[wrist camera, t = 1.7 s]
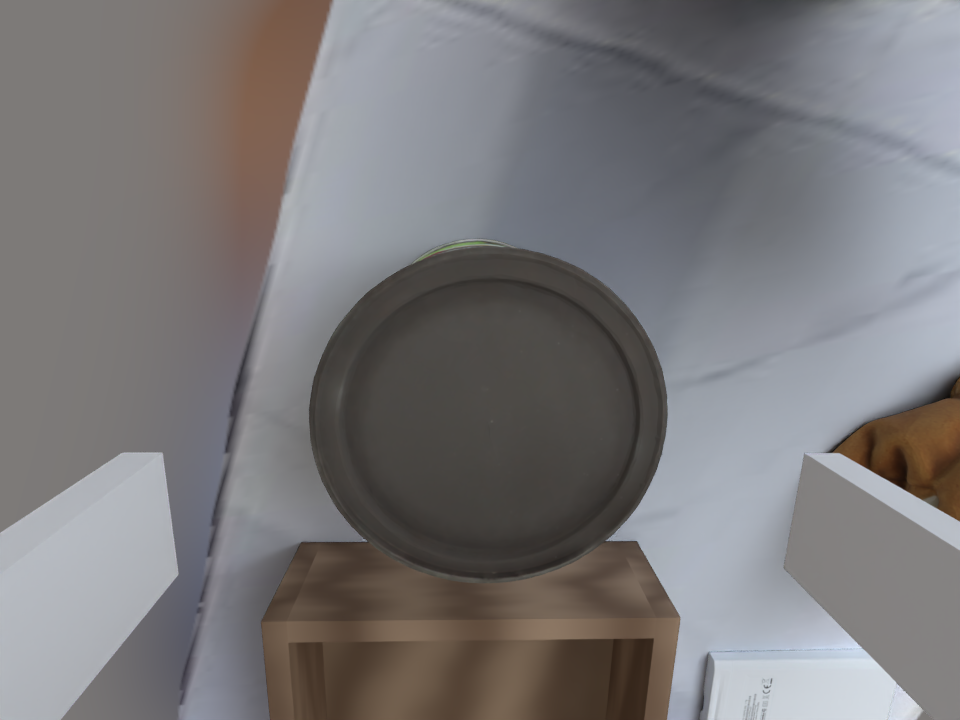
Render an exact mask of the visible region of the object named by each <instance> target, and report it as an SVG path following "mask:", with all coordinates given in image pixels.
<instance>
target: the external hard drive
mask: <svg viewBox="0 0 960 720" xmlns="http://www.w3.org/2000/svg"><path fill="white" fill-rule="evenodd" d="M896 686H897V683H896V682H895V681H894V680H893V679H892V678H891V677H890V676H889V675H888V674H887V673H886V672H885V670H884V669H883V668H882V667H881V666H880V665H879V664H878V663H877V662H876V661H875V660H874V659H873V658H872V657H871V656H870V655H869V654H868V653H867V652H866V651H865V650H864V649H822V650H771V651H717V652H709V655H708V663H707V669H706V676H705V683H704V690H703V693H704V696H705V699H704V705H703V709H702V710H701V711H700V717H699V720H888V716H889V713H890V708H891V705H892V702H893V698H894V693H895V690H896Z"/></svg>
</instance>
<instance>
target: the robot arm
mask: <svg viewBox="0 0 960 720" xmlns="http://www.w3.org/2000/svg"><path fill="white" fill-rule="evenodd" d="M784 569H785V570H786V571H787V572H788V573H789V574H790V575H791V576H792V577H793V578H794V579H795V580H796V581H797V582H798V583H799V584H800V585H801V586H802V587H803V588H804V589H805V590H806V591H807V592H808V593H809V594H810V595H811V596H812V597H813V598H814V599H815V600H816V601H817V602H818V603H819V604H820V605H821V607H822V608H823V609H824V610H825V611H826V612H827V613H828V614H829V615H830V616H831V617H832V618H833V619H834V620H835V621H836V622H837V623H838V624H839V625H840V626H841V627H842V628H843V629H844V630H845V631H846V632H847V633H848V634H849V635H850V636H851V637H852V638H853V639H854V640H855V641H856V642H857V643H858V644H859V645H860V646H861V647H862V648H863V649H864V650H865V651H866V652H867V653H868V654H869V655H870V656H871V657H872V658H873V659H874V660H875V661H876V662H877V663H878V664H879V665H880V666H881V667H882V668H883V669H884V670H885V672H886V673H887V674H888V675H889V676H890V677H891V678H892V679H893V680H894V681H895V682H896V683H897V684H898V685H899V686H900V687H901V688H902V689H903V690H904V691H905V692H906V693H907V694H908V695H909V696H910V697H911V698H912V699H913V700H914V701H915V702H916V703H917V704H918V705H919V706H920V707H921V708H922V709H923V710H924V711H925V712H926V713H927V714H928V715H929V716H930V717H931V718H932V719H933V720H960V521H958V520H956V519H954V518H952V517H951V516H949V515H947V514H945V513H944V512H942V511H940V510H938V509H937V508H935V507H933V506H931V505H930V504H928V503H926V502H924V501H923V500H921V499H919V498H917V497H916V496H914V495H912V494H910V493H909V492H907V491H905V490H903V489H902V488H900V487H898V486H896V485H895V484H893V483H891V482H889V481H888V480H886V479H884V478H882V477H880V476H879V475H877V474H875V473H873V472H872V471H870V470H868V469H866V468H865V467H863V466H861V465H859V464H858V463H856V462H854V461H852V460H851V459H849V458H847V457H845V456H844V455H842V454H840V453H804V458H803V464H802V469H801V475H800V480H799V486H798V491H797V497H796V502H795V508H794V513H793V519H792V524H791V530H790V535H789V541H788V546H787V552H786V557H785V562H784ZM178 575H179V573H178V565H177V559H176V551H175V543H174V535H173V528H172V520H171V513H170V505H169V497H168V490H167V482H166V474H165V467H164V460H163V453H161V452H158V453H157V452H156V453H155V452H153V453H151V452H148V453H146V452H143V453H142V452H139V453H138V452H136V453H135V452H134V453H133V452H125V453H124V452H123V453H121V454H119V455H118V456H116V457H115V458H114V459H112V460H110V461H109V462H107V463H106V464H104V465H103V466H101V467H100V468H98V469H97V470H95V471H94V472H92V473H91V474H89V475H87V476H86V477H84V478H83V479H81V480H80V481H78V482H77V483H75V484H74V485H72V486H71V487H69V488H68V489H66V490H65V491H63V492H62V493H60V494H59V495H57V496H56V497H54V498H53V499H51V500H49V501H48V502H46V503H45V504H43V505H42V506H40V507H39V508H37V509H36V510H34V511H33V512H31V513H30V514H28V515H27V516H25V517H24V518H22V519H20V520H19V521H18V522H16V523H15V524H13V525H11V526H10V527H8V528H7V529H5V530H4V531H2V532H1V533H0V720H61V719H62V717H63V716H64V715H65V714H66V713H67V711H68V710H69V709H70V708H71V706H72V705H73V704H74V703H75V702H76V700H77V699H78V698H79V697H80V695H81V694H82V693H83V692H84V690H85V689H86V688H87V687H88V685H89V684H90V683H91V682H92V681H93V679H94V678H95V677H96V676H97V674H98V673H99V672H100V671H101V669H102V668H103V667H104V666H105V664H106V663H107V662H108V661H109V660H110V658H111V657H112V656H113V655H114V653H115V652H116V651H117V650H118V649H119V647H120V646H121V645H122V643H123V642H124V641H125V640H126V639H127V637H128V636H129V635H130V634H131V633H132V631H133V630H134V629H135V628H136V626H137V625H138V624H139V623H140V621H141V620H142V619H143V618H144V617H145V615H146V614H147V613H148V612H149V610H150V609H151V608H152V606H153V605H154V604H155V603H156V602H157V600H158V599H159V598H160V597H161V596H162V594H163V593H164V592H165V591H166V589H167V588H168V587H169V586H170V584H171V583H172V582H173V581H174V579H175V578H176V577H177V576H178Z"/></svg>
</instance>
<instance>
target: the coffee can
mask: <svg viewBox="0 0 960 720" xmlns="http://www.w3.org/2000/svg"><path fill="white" fill-rule="evenodd" d="M309 423H310V436H311V444H312V450H313V454H314V458H315V462H316V466H317V468H318V471H319V474H320V476H321V479H322V482H323V484H324V486H325V488H326V489H327V491H328V493H329V495H330V497H331V499H332V500H333V502H334V504H335V505H336V507H337V509H338V510H339V511H340V513H341V514H342V515H343V516H344V518H345V519H346V520H347V521H348V523H349V524H350V525H351V526H352V527H353V528H354V529H355V530H356V531H357V532H358V533H359V534H360V535H361V536H362V537H363V538H364V539H366V540H367V541H368V542H369V543H370V544H372V545H373V546H374V547H375V548H377V549H378V550H379V551H381V552H382V553H384V554H385V555H387V556H388V557H390V558H392V559H394V560H395V561H397V562H399V563H401V564H403V565H405V566H407V567H409V568H411V569H414V570H416V571H419V572H422V573H426V574H428V575H431V576H434V577H438V578H443V579H446V580H451V581H458V582H467V583H504V582H512V581H519V580H524V579H529V578H532V577H535V576H540V575H543V574H546V573H548V572H552V571H555V570H557V569H560V568H562V567H564V566H566V565H569V564H571V563H573V562H575V561H577V560H579V559H580V558H582V557H583V556H585V555H587V554H589V553H590V552H591V551H593V550H594V549H596V548H597V547H598V546H599V545H601V544H602V543H603V542H605V541H606V540H607V539H608V538H609V537H611V536H612V535H613V534H614V533H615V532H616V531H617V530H618V529H619V528H620V527H621V525H622V524H623V523H624V522H625V521H626V520H627V519H628V518H629V517H630V515H631V514H632V513H633V511H634V510H635V509H636V508H637V506H638V505H639V503H640V501H641V500H642V498H643V496H644V495H645V493H646V491H647V489H648V487H649V485H650V483H651V481H652V479H653V477H654V474H655V472H656V470H657V467H658V463H659V460H660V457H661V455H662V450H663V444H664V440H665V435H666V427H667V394H666V387H665V382H664V377H663V372H662V368H661V365H660V363H659V360H658V357H657V354H656V351H655V349H654V347H653V345H652V343H651V341H650V339H649V337H648V336H647V334H646V332H645V330H644V329H643V327H642V326H641V324H640V323H639V321H638V320H637V318H636V317H635V316H634V314H633V313H632V312H631V311H630V309H629V308H628V307H627V306H626V305H625V303H624V302H623V301H622V300H621V299H620V298H619V297H618V296H617V295H616V294H615V293H614V292H613V291H612V290H611V289H610V288H608V287H607V286H606V285H604V284H603V283H602V282H600V281H599V280H597V279H596V278H595V277H593V276H591V275H590V274H588V273H587V272H585V271H584V270H582V269H580V268H578V267H576V266H574V265H572V264H569V263H567V262H565V261H562V260H560V259H558V258H555V257H551V256H548V255H545V254H542V253H538V252H533V251H529V250H525V249H518V248H516V247H513V246H511V245H508V244H506V243H503V242H499V241H495V240H488V239H465V240H459V241H454V242H450V243H447V244H444V245H441V246H439V247H436V248H434V249H432V250H430V251H428V252H427V253H425V254H423V255H422V256H421V257H419V258H418V259H417V260H415V261H414V262H413V263H412V264H411V265H409V266H407V267H405V268H403V269H401V270H400V271H398V272H396V273H395V274H393V275H391V276H390V277H388V278H386V279H385V280H384V281H382V282H381V283H380V284H378V285H377V286H375V287H374V288H373V289H371V290H370V291H369V292H368V293H367V294H366V295H365V296H364V297H363V298H361V299H360V300H359V301H358V302H357V303H356V305H355V306H354V307H353V308H352V309H351V310H350V312H349V313H348V314H347V315H346V316H345V318H344V319H343V320H342V321H341V323H340V324H339V325H338V327H337V329H336V330H335V332H334V333H333V335H332V337H331V339H330V340H329V342H328V344H327V347H326V349H325V351H324V353H323V355H322V357H321V360H320V362H319V365H318V368H317V371H316V374H315V376H314V381H313V386H312V392H311V399H310V407H309Z"/></svg>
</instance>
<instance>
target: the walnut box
mask: <svg viewBox="0 0 960 720" xmlns="http://www.w3.org/2000/svg"><path fill="white" fill-rule="evenodd" d="M679 625H680V616H679V614H678V612H677V611H676V609H675V607H674V605H673V604H672V602H671V600H670V598H669V597H668V595H667V593H666V591H665V590H664V588H663V586H662V585H661V583H660V581H659V579H658V578H657V576H656V574H655V572H654V571H653V569H652V567H651V565H650V564H649V562H648V560H647V558H646V557H645V555H644V553H643V551H642V550H641V548H640V546H639V544H638V543H637V541H605V542H603V543H602V544H601V545H599V546H598V547H597V548H596V549H594V550H593V551H591V552H590V553H589V554H587V555H585V556H583V557H582V558H580V559H579V560H577V561H575V562H573V563H571V564H569V565H566V566H564V567H562V568H560V569H557V570H555V571H552V572H548V573H546V574H543V575H540V576H535V577H532V578H529V579H524V580H519V581H512V582H504V583H467V582H458V581H451V580H446V579H443V578H438V577H434V576H431V575H428V574H426V573H422V572H419V571H416V570H414V569H411V568H409V567H407V566H405V565H403V564H401V563H399V562H397V561H395V560H394V559H392V558H390V557H388V556H387V555H385V554H384V553H382V552H381V551H379V550H378V549H377V548H375V547H374V546H373V545H372V544H370V543H369V542H301V544H300V546H299V548H298V550H297V552H296V554H295V556H294V558H293V560H292V562H291V564H290V566H289V568H288V570H287V572H286V573H285V575H284V577H283V579H282V581H281V583H280V585H279V587H278V589H277V591H276V593H275V595H274V597H273V599H272V601H271V603H270V605H269V607H268V609H267V611H266V613H265V615H264V617H263V619H262V621H261V627H262V638H263V649H264V660H265V670H266V681H267V692H268V702H269V713H270V720H667V714H668V707H669V699H670V692H671V685H672V677H673V670H674V662H675V655H676V648H677V640H678V633H679Z"/></svg>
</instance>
